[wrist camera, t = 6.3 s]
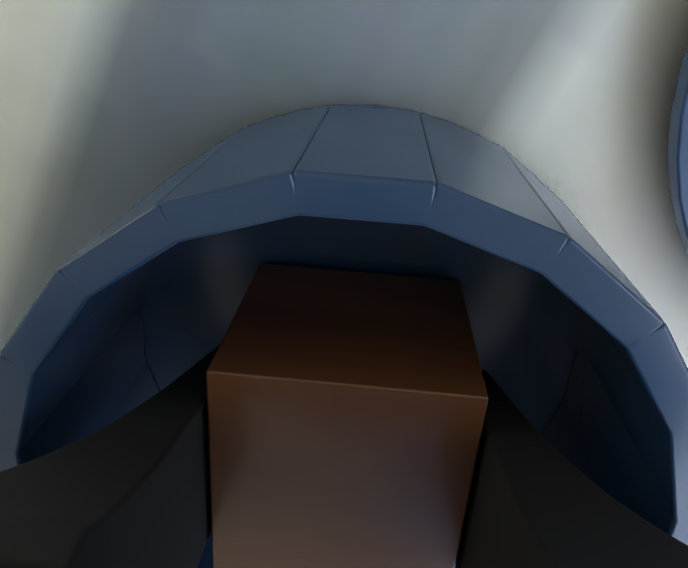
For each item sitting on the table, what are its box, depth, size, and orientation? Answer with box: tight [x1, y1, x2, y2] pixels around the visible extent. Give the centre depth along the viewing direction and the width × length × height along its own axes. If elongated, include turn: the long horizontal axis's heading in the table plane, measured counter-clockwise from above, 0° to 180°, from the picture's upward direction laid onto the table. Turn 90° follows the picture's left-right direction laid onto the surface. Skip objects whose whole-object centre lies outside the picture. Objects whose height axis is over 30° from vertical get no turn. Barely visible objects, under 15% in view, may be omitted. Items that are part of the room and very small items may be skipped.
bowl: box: [0, 105, 688, 568], centre depth 13 cm, size 12×12×6 cm
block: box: [206, 264, 488, 568], centre depth 13 cm, size 4×4×4 cm
